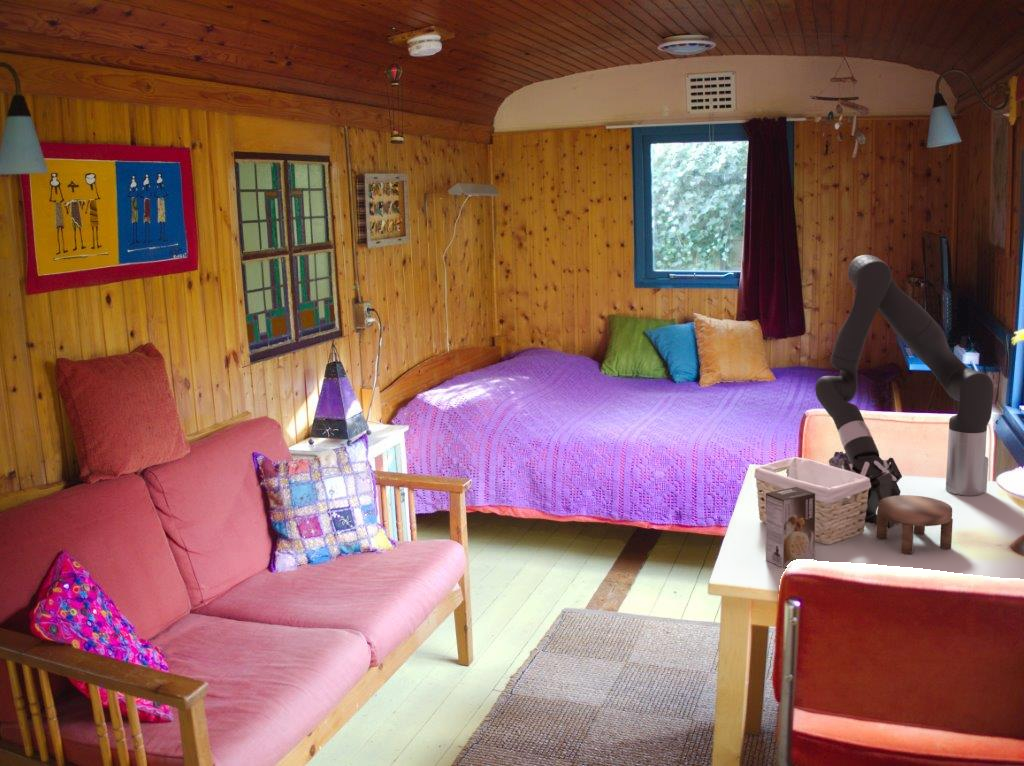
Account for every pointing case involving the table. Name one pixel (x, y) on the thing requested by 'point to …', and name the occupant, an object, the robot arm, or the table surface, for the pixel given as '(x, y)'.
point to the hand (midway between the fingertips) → (881, 498)
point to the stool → (914, 518)
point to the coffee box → (790, 525)
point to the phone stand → (878, 496)
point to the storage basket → (820, 495)
